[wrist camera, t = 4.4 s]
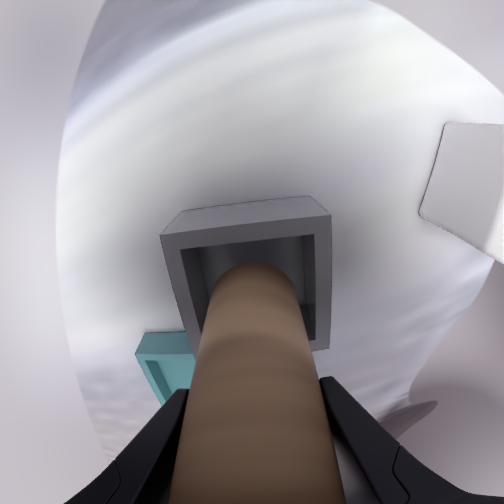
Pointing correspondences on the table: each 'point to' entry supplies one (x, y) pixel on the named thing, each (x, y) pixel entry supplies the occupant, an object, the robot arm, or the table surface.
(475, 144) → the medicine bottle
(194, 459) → the walnut dowel
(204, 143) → the table surface
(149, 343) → the tray
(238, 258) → the grey square open box
